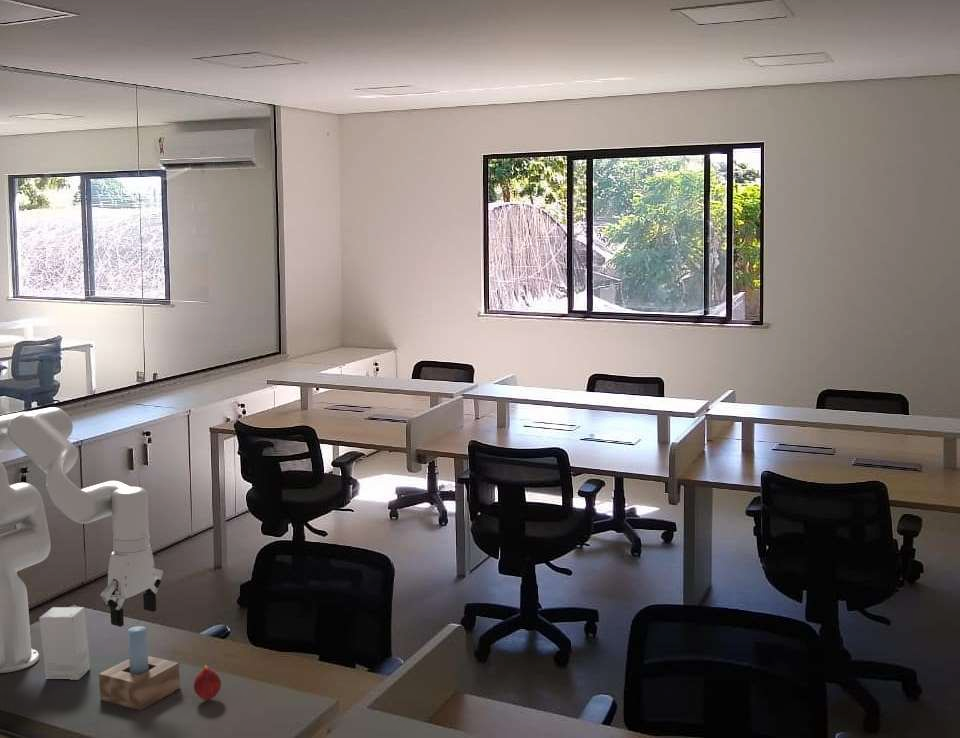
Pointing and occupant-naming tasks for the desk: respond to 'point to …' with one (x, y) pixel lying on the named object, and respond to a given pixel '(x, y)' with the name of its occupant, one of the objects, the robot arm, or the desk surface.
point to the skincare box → (65, 643)
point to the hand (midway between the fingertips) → (133, 617)
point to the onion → (207, 684)
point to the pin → (138, 650)
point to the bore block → (139, 683)
